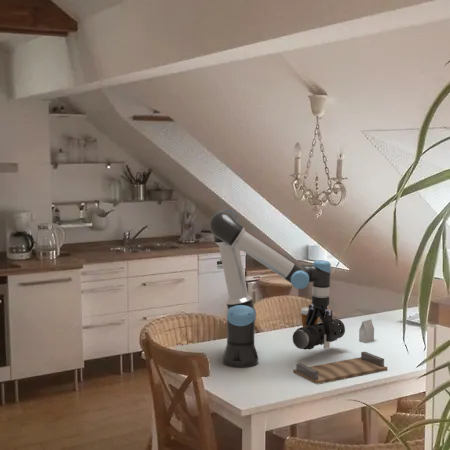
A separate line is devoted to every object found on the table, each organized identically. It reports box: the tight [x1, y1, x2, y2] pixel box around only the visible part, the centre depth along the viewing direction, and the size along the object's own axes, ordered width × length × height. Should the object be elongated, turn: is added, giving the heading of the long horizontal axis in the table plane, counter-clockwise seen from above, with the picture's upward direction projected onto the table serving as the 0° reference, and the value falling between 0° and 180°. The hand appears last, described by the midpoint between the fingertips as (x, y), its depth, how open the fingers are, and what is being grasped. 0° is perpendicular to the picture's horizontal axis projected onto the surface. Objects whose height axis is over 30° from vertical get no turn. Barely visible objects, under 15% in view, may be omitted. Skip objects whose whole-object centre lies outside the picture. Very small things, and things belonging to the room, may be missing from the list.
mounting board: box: [292, 351, 388, 385], centre depth 281 cm, size 36×16×4 cm, turn 119°
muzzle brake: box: [292, 318, 346, 351], centre depth 303 cm, size 10×28×10 cm, turn 137°
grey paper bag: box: [358, 319, 375, 344], centre depth 327 cm, size 4×7×10 cm, turn 133°
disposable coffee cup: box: [300, 306, 319, 327], centre depth 341 cm, size 10×10×12 cm
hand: (318, 344), depth 303 cm, fingers closed on muzzle brake, 11 cm apart
